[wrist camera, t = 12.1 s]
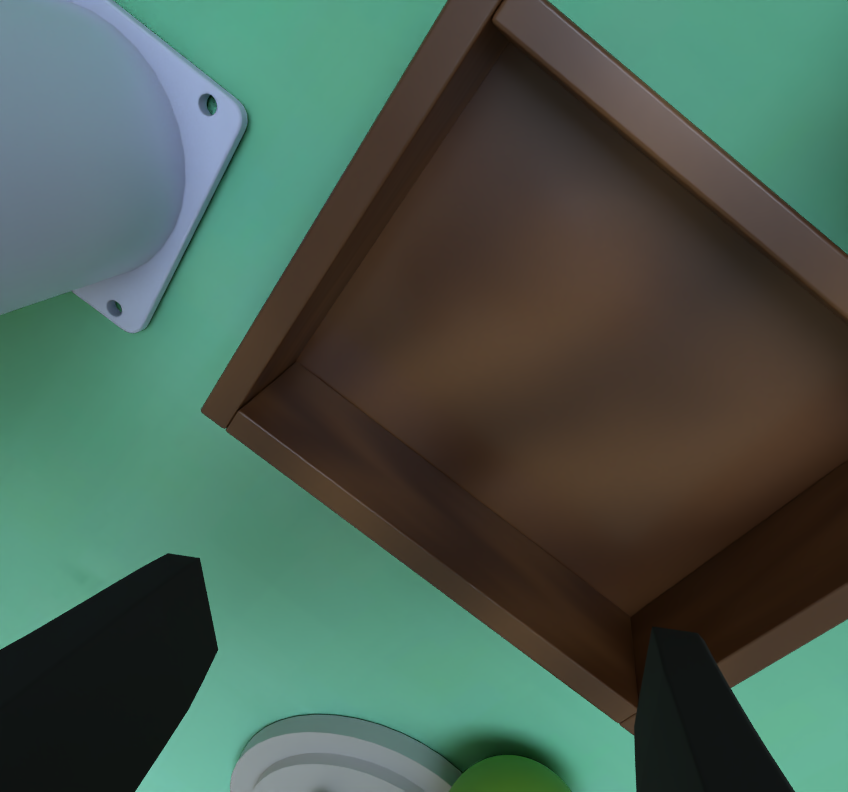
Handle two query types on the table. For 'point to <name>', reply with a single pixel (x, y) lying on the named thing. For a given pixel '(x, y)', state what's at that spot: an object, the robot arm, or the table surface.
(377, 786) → the monster figurine
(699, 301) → the bin
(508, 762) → the snail figurine
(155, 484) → the table surface
